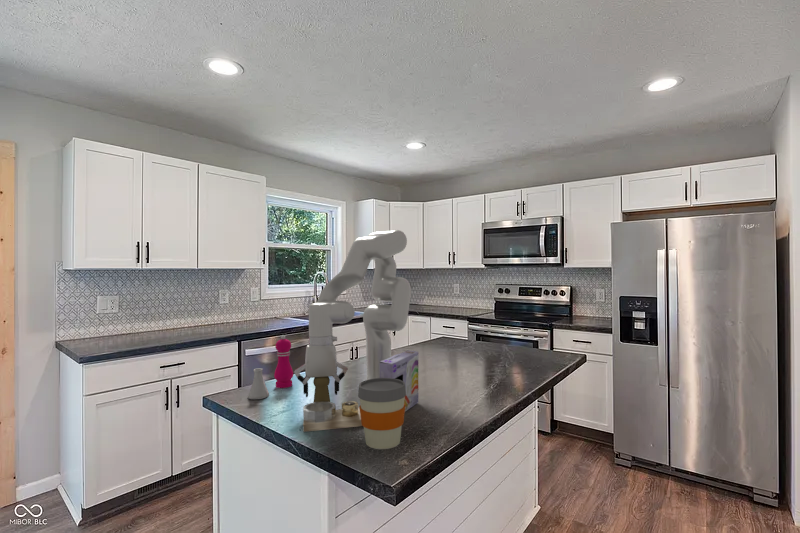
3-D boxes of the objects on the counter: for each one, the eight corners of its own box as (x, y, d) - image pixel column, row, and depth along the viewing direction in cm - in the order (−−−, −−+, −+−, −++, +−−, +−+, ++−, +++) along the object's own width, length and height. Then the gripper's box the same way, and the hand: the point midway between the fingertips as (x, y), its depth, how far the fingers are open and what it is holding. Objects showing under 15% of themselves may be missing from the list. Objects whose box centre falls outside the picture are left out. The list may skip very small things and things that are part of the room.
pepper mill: (283, 389, 154) (282, 337, 154) (270, 387, 158) (269, 335, 158) (297, 384, 160) (296, 334, 160) (284, 382, 164) (283, 333, 164)
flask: (262, 400, 141) (262, 372, 141) (243, 399, 143) (243, 371, 143) (272, 394, 148) (272, 367, 148) (255, 393, 150) (254, 366, 150)
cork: (334, 407, 132) (334, 374, 132) (325, 413, 127) (325, 378, 127) (318, 406, 134) (318, 372, 134) (308, 412, 129) (308, 377, 129)
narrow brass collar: (357, 410, 123) (357, 400, 123) (359, 416, 119) (358, 405, 119) (341, 412, 122) (341, 401, 122) (342, 417, 118) (342, 406, 118)
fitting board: (363, 413, 126) (363, 407, 126) (367, 425, 117) (367, 418, 117) (304, 419, 123) (304, 412, 123) (303, 431, 113) (303, 424, 113)
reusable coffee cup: (369, 430, 113) (368, 376, 113) (412, 434, 110) (411, 379, 110) (351, 449, 101) (350, 389, 101) (399, 455, 98) (397, 392, 98)
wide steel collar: (334, 410, 124) (334, 400, 124) (336, 420, 115) (336, 410, 115) (303, 412, 122) (303, 403, 122) (303, 424, 113) (303, 413, 113)
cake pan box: (391, 423, 118) (390, 362, 118) (376, 420, 121) (375, 361, 121) (420, 403, 135) (419, 350, 135) (407, 401, 137) (406, 349, 138)
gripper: (346, 338, 136) (347, 389, 136) (293, 340, 133) (294, 393, 132) (348, 341, 129) (349, 396, 129) (292, 344, 125) (293, 400, 125)
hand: (321, 394), depth 130 cm, fingers open, 8 cm apart
